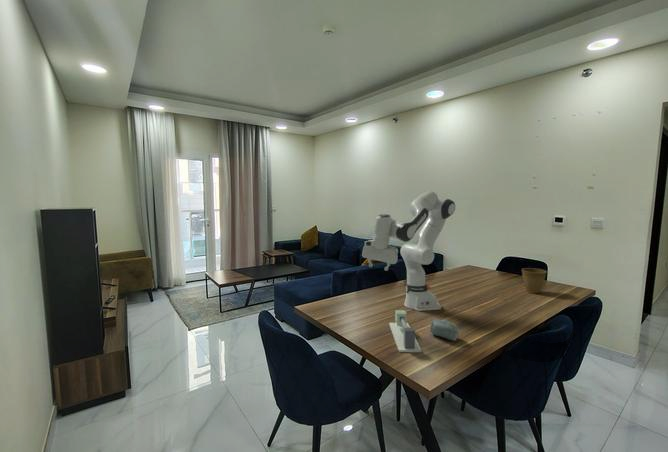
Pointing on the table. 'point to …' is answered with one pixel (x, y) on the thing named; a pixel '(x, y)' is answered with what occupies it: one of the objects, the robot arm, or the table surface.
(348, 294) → the table surface
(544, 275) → the plant pot
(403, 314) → the sleeve
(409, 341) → the stand
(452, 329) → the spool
